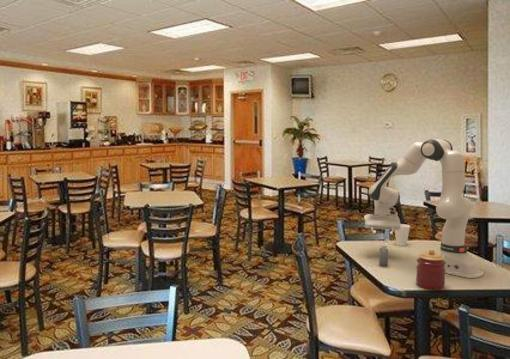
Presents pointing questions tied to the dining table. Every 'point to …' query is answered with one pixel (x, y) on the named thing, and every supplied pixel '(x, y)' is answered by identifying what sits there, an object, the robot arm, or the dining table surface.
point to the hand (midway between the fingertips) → (382, 234)
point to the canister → (430, 270)
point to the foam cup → (402, 235)
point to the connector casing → (383, 256)
